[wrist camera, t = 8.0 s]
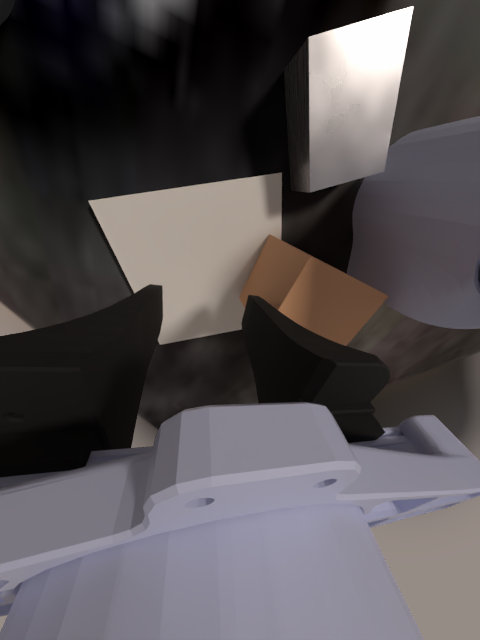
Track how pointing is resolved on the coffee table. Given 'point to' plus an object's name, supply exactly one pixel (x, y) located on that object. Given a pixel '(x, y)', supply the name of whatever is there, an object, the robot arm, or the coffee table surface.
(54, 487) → the robot arm
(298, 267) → the terracotta block
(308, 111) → the metal tin
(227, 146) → the coffee table surface
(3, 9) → the grey rounded capsule
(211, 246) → the ceramic tile
